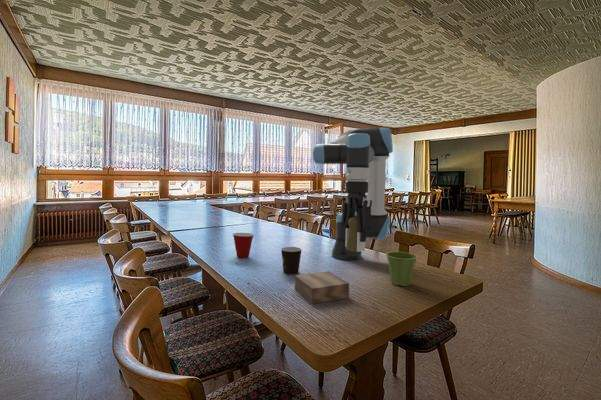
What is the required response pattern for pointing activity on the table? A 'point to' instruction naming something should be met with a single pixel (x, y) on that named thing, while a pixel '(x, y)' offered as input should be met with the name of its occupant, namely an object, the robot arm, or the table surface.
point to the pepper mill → (352, 234)
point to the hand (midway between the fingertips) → (354, 248)
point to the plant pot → (401, 267)
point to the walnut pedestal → (321, 287)
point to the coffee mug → (291, 259)
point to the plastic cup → (243, 244)
